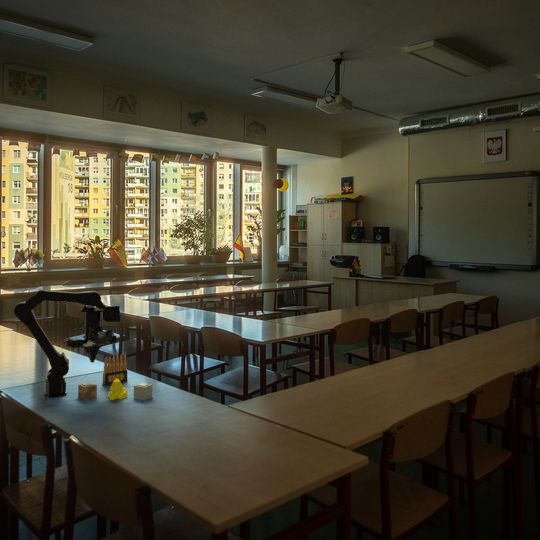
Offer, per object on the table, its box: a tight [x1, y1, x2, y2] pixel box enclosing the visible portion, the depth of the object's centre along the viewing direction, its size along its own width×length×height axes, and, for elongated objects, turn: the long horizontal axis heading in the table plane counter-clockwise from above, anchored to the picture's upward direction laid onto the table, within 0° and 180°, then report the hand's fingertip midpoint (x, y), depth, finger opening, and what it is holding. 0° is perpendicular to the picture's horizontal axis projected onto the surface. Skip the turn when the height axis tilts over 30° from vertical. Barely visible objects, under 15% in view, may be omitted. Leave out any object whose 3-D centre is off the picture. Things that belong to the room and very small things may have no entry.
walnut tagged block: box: [77, 382, 98, 401], centre depth 202 cm, size 5×5×5 cm
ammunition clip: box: [101, 353, 128, 387], centre depth 222 cm, size 11×2×12 cm, turn 135°
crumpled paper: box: [107, 378, 128, 401], centre depth 203 cm, size 6×8×8 cm
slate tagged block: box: [133, 382, 153, 401], centre depth 203 cm, size 5×5×5 cm
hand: (92, 362), depth 208 cm, fingers closed
